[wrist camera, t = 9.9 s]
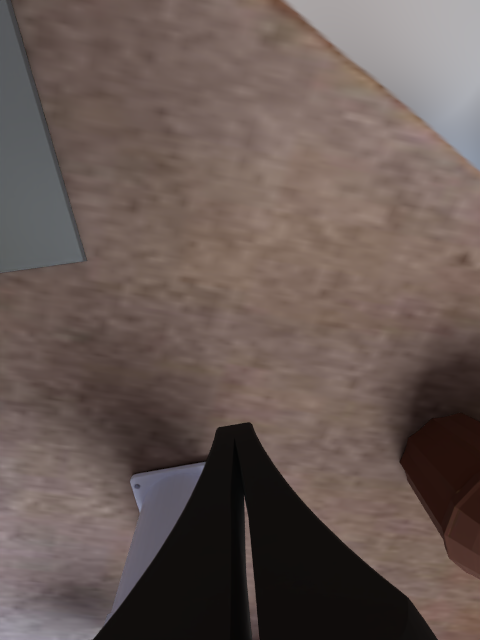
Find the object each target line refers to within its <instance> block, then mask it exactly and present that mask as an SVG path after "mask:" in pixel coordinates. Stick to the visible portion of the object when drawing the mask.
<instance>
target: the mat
mask: <svg viewBox="0 0 480 640" xmlns="http://www.w3.org/2000/svg"><path fill="white" fill-rule="evenodd" d="M82 261H87V260H86V256H85V253H84V249H83V246H82V243H81V239H80V236H79V232H78V229H77V225H76V222H75V219H74V215H73V212H72V208H71V205H70V202H69V198H68V195H67V191H66V188H65V185H64V181H63V178H62V174H61V171H60V167H59V164H58V161H57V157H56V154H55V150H54V147H53V144H52V140H51V137H50V133H49V130H48V126H47V123H46V120H45V116H44V113H43V109H42V106H41V103H40V99H39V96H38V92H37V89H36V85H35V82H34V79H33V75H32V72H31V68H30V65H29V62H28V58H27V55H26V51H25V48H24V45H23V41H22V38H21V34H20V31H19V27H18V24H17V21H16V17H15V14H14V10H13V7H12V4H11V0H0V273H3V272H11V271H18V270H25V269H32V268H39V267H46V266H54V265H61V264H68V263H75V262H82Z"/></svg>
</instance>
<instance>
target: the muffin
mask: <svg viewBox="0 0 480 640" xmlns="http://www.w3.org/2000/svg"><path fill="white" fill-rule="evenodd" d="M400 463H401V465H402V467H403V469H404V470H405V473H406V476H407V480H408V482H409V484H410V486H411V487H412V489H413V490H414V492H415V494H416V495H417V497H418V499H419V500H420V502H421V504H422V505H423V507H424V509H425V510H426V512H427V513H428V515H429V517H430V518H431V520H432V522H433V523H434V525H435V527H436V528H437V530H438V532H439V533H440V535H441V537H442V538H443V540H444V545H445V548H446V551H447V554H448V557H449V559H451V560H452V561H453V562H454V563H455V564H457V565H458V566H459V567H460V568H461V569H463V570H464V571H465V572H466V573H468V574H471V575H473V576H475V577H476V578H478V579H480V422H479V421H477V420H475V419H473V418H471V417H469V416H467V415H465V414H463V413H457V414H454V415H450V416H447V417H440V418H432V419H431V420H430V421H429V422H428V423H427V424H426V425H425V426H424V427H423V428H421V429H420V430H419V431H417V432H416V433H415V434H413V435H412V436H410V437H409V438H408V442H407V445H406V449H405V452H404V454H403V456H402V458H401V460H400Z"/></svg>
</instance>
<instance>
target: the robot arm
mask: <svg viewBox="0 0 480 640" xmlns="http://www.w3.org/2000/svg"><path fill="white" fill-rule="evenodd" d="M130 484H131V487H132V490H133V493H134V496H135V499H136V502H137V505H138V508H139V511H140V515H139V518H138V522H137V525H136V528H135V532H134V535H133V539H132V542H131V545H130V549H129V552H128V556H127V559H126V563H125V566H124V569H123V573H122V576H121V580H120V583H119V586H118V590H117V593H116V597H115V600H114V603H113V607H112V610H111V613H109V614H107V616H106V620H105V623H104V626H103V628H102V629H101V630H100V632H99V633H98V634H97V635H96V637H95V638H94V639H93V640H252V632H251V622H250V612H249V601H248V591H247V578H246V554H245V514H244V497H245V502H246V507H247V512H248V517H249V527H250V538H251V548H252V559H253V570H254V581H255V592H256V603H257V615H258V627H259V638H260V640H438V639H437V638H436V636H435V635H434V633H433V632H432V630H431V629H430V627H429V626H428V624H427V623H426V621H425V620H424V619H423V617H422V616H421V614H420V613H419V612H418V610H417V609H416V607H415V606H414V605H413V603H412V602H411V601H410V599H409V598H408V597H407V596H406V595H404V594H403V593H402V592H401V591H399V590H398V589H397V588H396V587H394V586H393V585H392V584H391V583H389V582H388V581H387V580H386V579H384V578H383V577H382V576H381V575H380V574H378V573H377V572H376V571H375V570H374V569H372V568H371V567H370V566H369V565H368V564H367V563H365V562H364V561H363V560H362V559H361V558H360V557H359V556H357V555H356V554H355V553H354V552H353V551H352V550H351V549H350V548H348V547H347V546H346V545H345V544H344V543H343V542H342V541H341V540H340V539H339V538H338V537H337V536H336V535H335V534H334V533H333V532H332V531H331V530H330V529H329V528H328V527H327V526H326V525H325V524H324V523H323V522H322V521H320V520H319V518H318V517H317V516H316V515H315V514H314V513H313V512H312V511H311V510H310V509H309V508H308V507H307V506H306V504H305V503H304V502H303V501H302V500H301V499H300V498H299V496H298V495H297V494H296V493H295V492H294V490H293V489H292V488H291V487H290V486H289V484H288V483H287V482H286V480H285V479H284V478H283V476H282V475H281V474H280V472H279V471H278V470H277V468H276V467H275V465H274V464H273V462H272V461H271V459H270V458H269V456H268V455H267V453H266V452H265V450H264V448H263V447H262V445H261V443H260V441H259V439H258V437H257V435H256V433H255V431H254V428H253V425H252V424H251V423H250V422H248V423H242V424H236V425H230V426H224V427H219V428H218V429H217V430H216V434H215V437H214V441H213V444H212V447H211V450H210V453H209V456H208V458H207V461H206V462H202V463H196V464H190V465H184V466H179V467H173V468H167V469H162V470H156V471H150V472H144V473H139V474H134V475H133V476H132V477H131V480H130ZM137 484H139V485H137Z"/></svg>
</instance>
